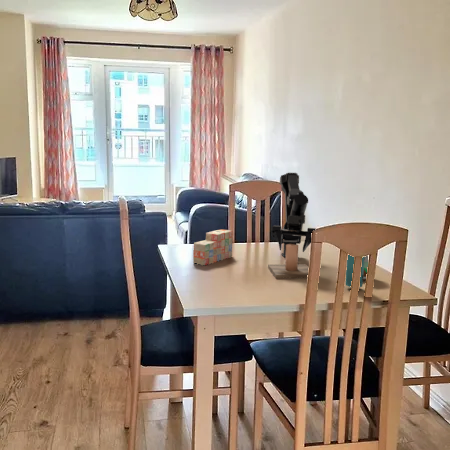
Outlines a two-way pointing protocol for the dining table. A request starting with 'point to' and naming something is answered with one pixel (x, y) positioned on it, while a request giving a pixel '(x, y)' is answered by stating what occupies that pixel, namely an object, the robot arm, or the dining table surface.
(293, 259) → the terracotta cylinder
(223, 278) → the dining table surface
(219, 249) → the stack of blocks
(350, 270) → the beverage bottle
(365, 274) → the food container
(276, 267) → the tan flat square block
